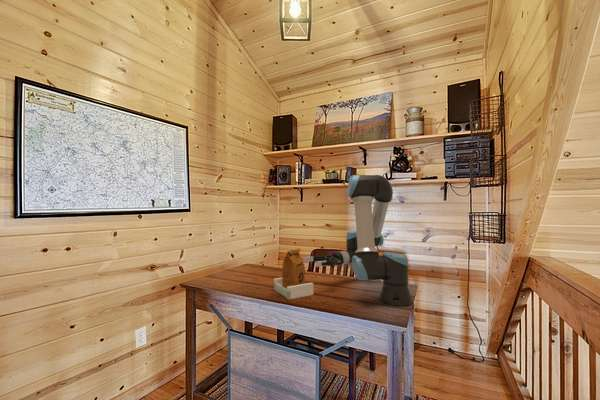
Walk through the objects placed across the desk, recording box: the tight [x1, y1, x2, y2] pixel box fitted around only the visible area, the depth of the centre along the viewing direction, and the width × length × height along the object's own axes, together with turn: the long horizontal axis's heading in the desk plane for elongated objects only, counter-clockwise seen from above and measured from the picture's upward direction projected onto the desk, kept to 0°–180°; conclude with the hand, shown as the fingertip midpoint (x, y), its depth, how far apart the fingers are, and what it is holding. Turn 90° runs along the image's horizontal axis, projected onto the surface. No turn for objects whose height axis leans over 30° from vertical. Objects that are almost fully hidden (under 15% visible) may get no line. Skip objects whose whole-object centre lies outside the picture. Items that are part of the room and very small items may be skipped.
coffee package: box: [281, 247, 306, 289], centre depth 152 cm, size 10×12×22 cm
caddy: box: [273, 277, 314, 301], centre depth 151 cm, size 18×15×6 cm
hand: (309, 262), depth 156 cm, fingers open, 13 cm apart
